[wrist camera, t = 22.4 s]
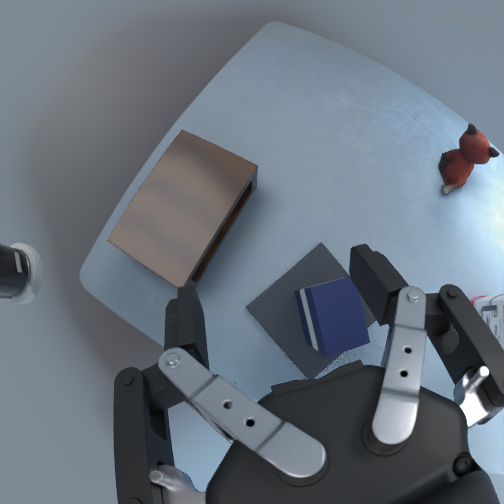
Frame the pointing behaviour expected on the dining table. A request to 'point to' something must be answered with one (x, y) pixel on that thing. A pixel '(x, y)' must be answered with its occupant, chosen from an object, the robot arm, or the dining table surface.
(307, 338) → the tea box
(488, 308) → the ink box
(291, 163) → the dining table surface
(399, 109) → the dining table surface
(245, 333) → the dining table surface
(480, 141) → the stuffed fox
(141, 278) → the dining table surface
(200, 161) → the shelf
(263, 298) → the mat
